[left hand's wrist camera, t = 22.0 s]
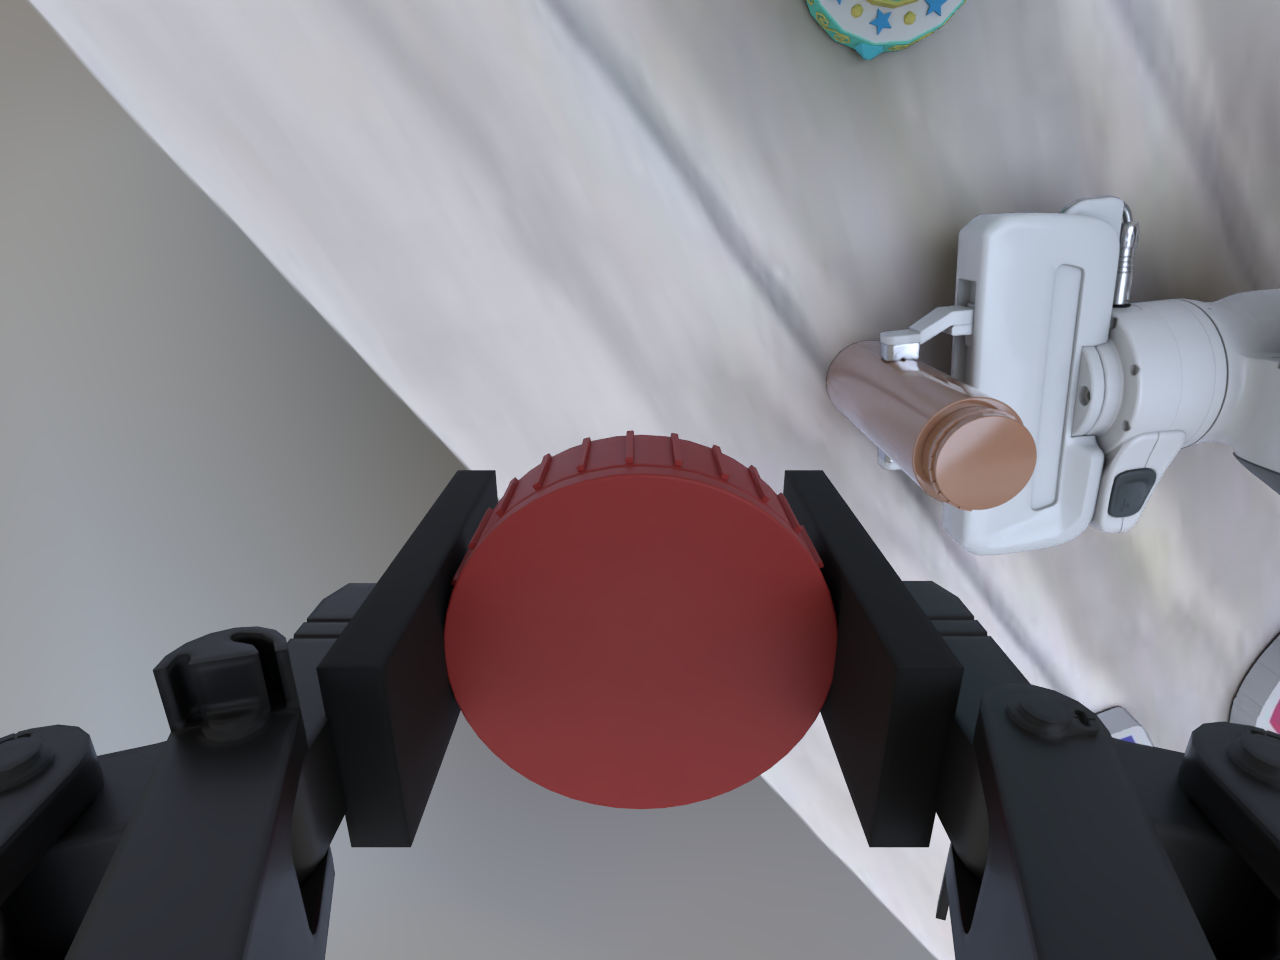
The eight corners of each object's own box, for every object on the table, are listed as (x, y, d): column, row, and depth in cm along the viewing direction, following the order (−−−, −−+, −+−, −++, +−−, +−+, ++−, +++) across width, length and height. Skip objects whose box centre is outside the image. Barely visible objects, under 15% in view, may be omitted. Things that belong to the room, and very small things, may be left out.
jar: (840, 332, 46) (952, 394, 30) (915, 349, 47) (1067, 420, 30) (816, 407, 48) (908, 506, 31) (888, 423, 48) (1018, 529, 32)
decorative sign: (1015, 764, 56) (1405, 578, 50) (1002, 744, 58) (1374, 564, 52) (1160, 998, 66) (1500, 867, 60) (1144, 974, 68) (1470, 844, 62)
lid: (696, 779, 14) (705, 863, 12) (411, 647, 12) (374, 718, 11) (884, 538, 12) (928, 595, 10) (569, 359, 11) (554, 387, 9)
